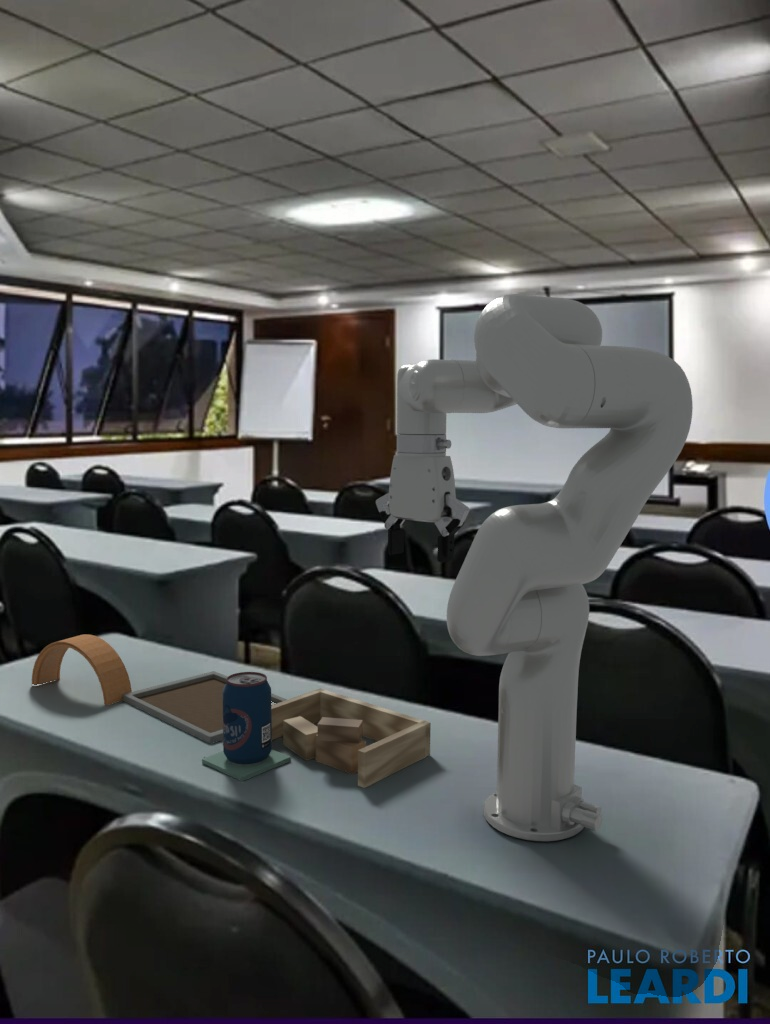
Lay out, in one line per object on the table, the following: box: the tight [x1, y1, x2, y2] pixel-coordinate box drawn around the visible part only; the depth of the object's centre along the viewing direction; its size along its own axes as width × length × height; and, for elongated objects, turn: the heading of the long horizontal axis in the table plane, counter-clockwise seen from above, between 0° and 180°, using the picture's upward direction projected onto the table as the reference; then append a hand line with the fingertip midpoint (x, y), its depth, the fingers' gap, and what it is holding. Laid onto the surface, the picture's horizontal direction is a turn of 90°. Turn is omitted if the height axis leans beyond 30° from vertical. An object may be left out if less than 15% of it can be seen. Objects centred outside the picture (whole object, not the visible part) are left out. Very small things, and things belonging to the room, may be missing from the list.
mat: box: [201, 749, 292, 782], centre depth 120 cm, size 9×9×1 cm
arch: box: [31, 634, 133, 707], centre depth 149 cm, size 6×20×10 cm, turn 59°
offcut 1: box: [282, 716, 318, 761], centre depth 124 cm, size 7×3×4 cm, turn 35°
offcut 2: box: [315, 734, 367, 775], centre depth 119 cm, size 7×3×4 cm, turn 51°
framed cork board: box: [122, 671, 288, 745], centre depth 142 cm, size 19×2×30 cm
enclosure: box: [271, 688, 431, 789], centre depth 124 cm, size 23×15×5 cm, turn 49°
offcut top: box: [317, 717, 364, 744], centre depth 119 cm, size 6×3×2 cm, turn 80°
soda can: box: [222, 671, 273, 766], centre depth 119 cm, size 7×7×12 cm
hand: (420, 557), depth 127 cm, fingers open, 9 cm apart
